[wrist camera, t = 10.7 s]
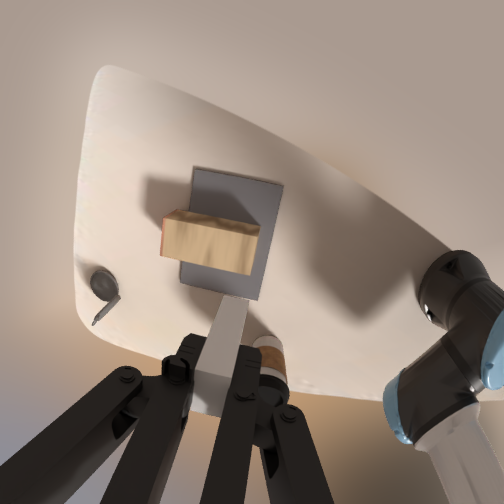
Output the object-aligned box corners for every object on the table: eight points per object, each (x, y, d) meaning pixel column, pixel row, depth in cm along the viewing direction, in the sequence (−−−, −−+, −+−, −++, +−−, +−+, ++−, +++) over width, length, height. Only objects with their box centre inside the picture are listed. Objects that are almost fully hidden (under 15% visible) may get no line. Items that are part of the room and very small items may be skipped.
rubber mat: (283, 186, 47) (283, 186, 46) (257, 299, 54) (257, 300, 53) (196, 169, 47) (195, 169, 47) (181, 281, 54) (180, 282, 54)
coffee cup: (243, 329, 56) (231, 384, 42) (289, 329, 55) (289, 385, 41) (247, 364, 59) (237, 419, 45) (289, 363, 58) (289, 420, 44)
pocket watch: (93, 265, 55) (64, 286, 46) (129, 278, 55) (103, 303, 46) (92, 299, 58) (66, 322, 49) (125, 313, 58) (102, 340, 49)
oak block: (176, 209, 49) (260, 226, 49) (172, 243, 51) (253, 260, 51) (163, 217, 43) (257, 237, 43) (159, 255, 46) (250, 275, 45)
